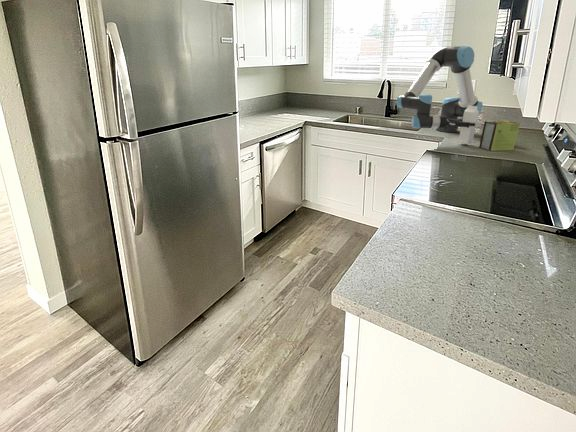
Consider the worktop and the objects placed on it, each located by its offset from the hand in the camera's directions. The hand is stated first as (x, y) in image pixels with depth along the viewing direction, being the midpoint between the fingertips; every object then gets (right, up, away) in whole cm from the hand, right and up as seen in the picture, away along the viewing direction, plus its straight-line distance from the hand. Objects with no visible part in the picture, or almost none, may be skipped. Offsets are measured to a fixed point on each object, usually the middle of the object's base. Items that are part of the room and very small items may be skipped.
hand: (477, 123), depth 222 cm
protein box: (+10, -16, -3) cm, 19 cm away
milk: (-5, -11, +5) cm, 13 cm away
